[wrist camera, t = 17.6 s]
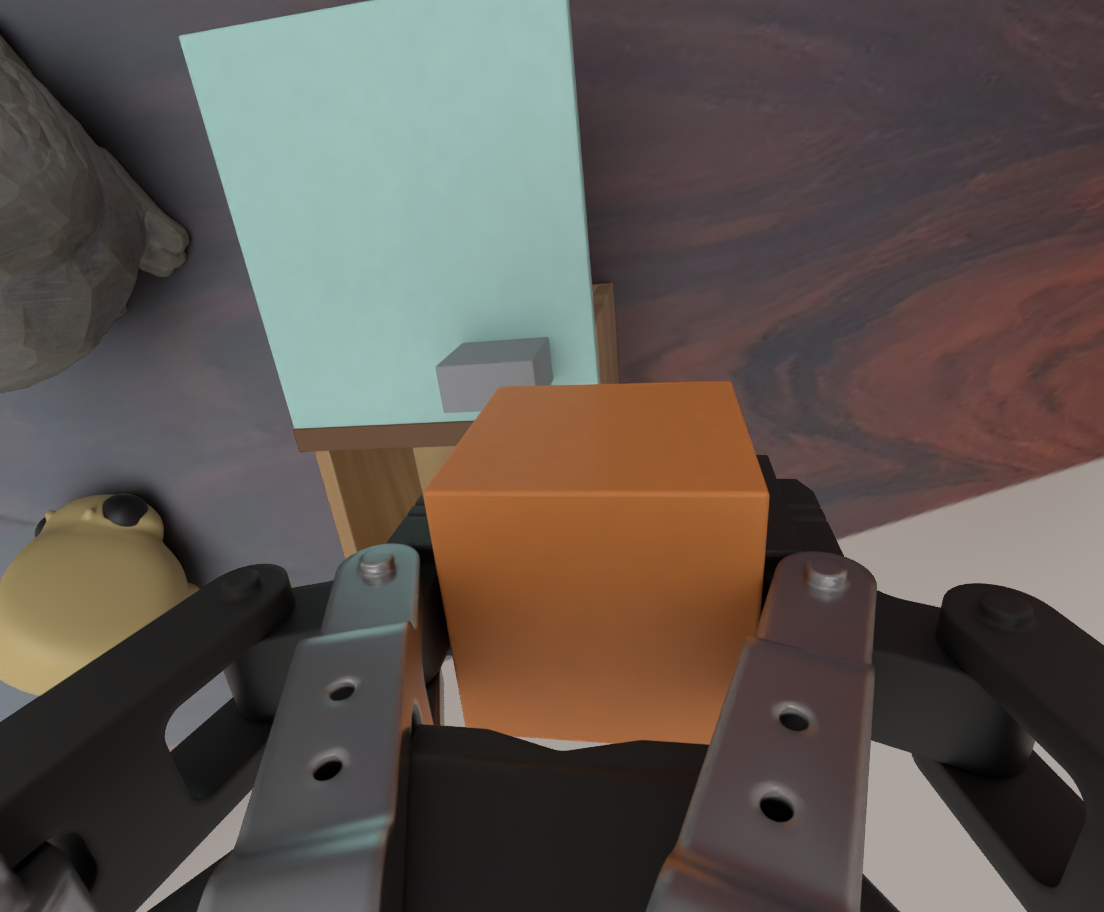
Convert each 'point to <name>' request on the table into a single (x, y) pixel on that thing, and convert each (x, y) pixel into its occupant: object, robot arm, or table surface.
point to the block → (600, 559)
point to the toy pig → (84, 588)
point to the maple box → (418, 460)
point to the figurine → (65, 233)
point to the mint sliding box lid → (405, 208)
